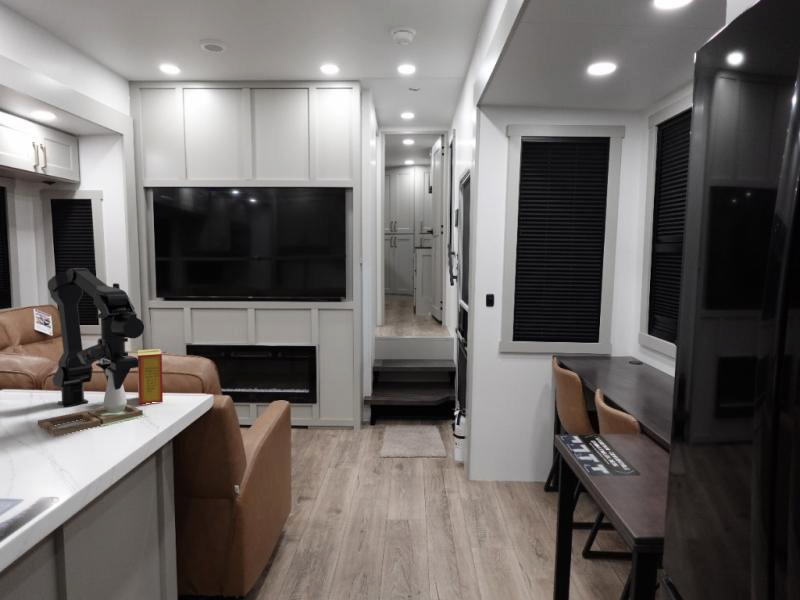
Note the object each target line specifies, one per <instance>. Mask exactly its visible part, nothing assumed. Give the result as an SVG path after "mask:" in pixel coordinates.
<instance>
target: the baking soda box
mask: <svg viewBox="0 0 800 600" xmlns="http://www.w3.org/2000/svg"><path fill="white" fill-rule="evenodd" d="M136 351H137V359H139V365H140V367H137V383H138V384H137V388H138V391H137V392H138V405H139V406H143V405H142V404H146V403H152V402H163V403H164V401H163V400H164V399H163V398H164V397H163V396H164V395H163V393H164V392H163V357H162V356H163V355H162V351H161V349H160V348H151V349H150V348H149V349H139V350H136Z"/></svg>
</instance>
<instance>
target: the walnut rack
mask: <svg viewBox="0 0 800 600" xmlns="http://www.w3.org/2000/svg"><path fill="white" fill-rule="evenodd" d="M124 410H126V411H129V413H125V414H120V415H116V416H111V417H107V418H106V417H104V416H102V414H106V413H107V411H106V409H105V408H104V406H100V407H97V408H91V409H86V410H81V411H78V412H71V413H68V414H63V415H59V416H54V417H48V418H44V419H43V418H42V419H38V420H37V426H39V427H40V428H42V429H43V428H44V429H43V430H45V431H46V430H47V431H46V432H48V433H49V432H50V433H49V434H51V435H52V434H53V435H52V436H54V437H55V438H57V437H61V436H64V434H65V435H69V434H68V433H70V434H73V433H72V432H74V433H76V431H78V432H81V431H80V430H82V431H85V430H84V429H86V430H89V429H88V428H91V429H94V428H93V427H95V428H98V427H97V426H99V427H100V425H101V424H107V423H111V422H116V421H120V420H124V419H128V418H133V417H137V416H141V415H143V413H144V412H143V410H142V409H140V408H138V407H135V406H133V405H131V404H128V403H127V404H126V406H125V409H124ZM80 419H83V420H82V421H84V420H85V421H84V422H82V423H78V424H71V425H67V426H64V427H63V426H62V427H60V428H59V427H57V426H59V425H58V424H61V425H64V424H63V423H66V424H68V423H67V422H70V423H73V422H72V421H75V422H77V421H76V420H79V421H81V420H80ZM86 421H87V422H86ZM55 425H57V426H55ZM60 435H61V436H60ZM56 436H57V437H56Z"/></svg>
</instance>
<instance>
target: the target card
mask: <svg viewBox="0 0 800 600" xmlns="http://www.w3.org/2000/svg"><path fill="white" fill-rule="evenodd" d="M125 413H129V411H126V410H123V411H122V412H119V413H106V414H102V416H104V417H106V418H107V417H111V416H116V415H120V414H125ZM145 415H147V414H145V413H144V412H143V415H141V416H137V417H133V418H128V419H124V420H120V421H116V422H111V423H107V424H101V425H100V426H103V427H105V426H104V425H107V426H110V425H109V424H111V425H114V424H113V423H116V424H119V423H118V422H120V423H123V422H122V421H124V422H127V421H126V420H128V421H131V419H132V420H135V419H134V418H137V419H139V418H138V417H141V418H143V417H142V416H145ZM145 417H146V416H145ZM100 426H99V427H100Z"/></svg>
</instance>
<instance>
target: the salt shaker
mask: <svg viewBox="0 0 800 600" xmlns="http://www.w3.org/2000/svg"><path fill="white" fill-rule="evenodd" d="M110 367H111V366H110ZM108 368H109V367H108ZM105 372H106V375H107V376H109V377H108V382H107V383H106V388H105V392H104V398H103V403H102V404H103V406H102V407H104V408H105V409H106V411H107V413H119V412H122V411H123V410H124V409H125V406H126V404H128V402H127V396H126V392H125V388H124V383H123V384H122V386H121V388H120V389H117V390H115V387H114V383H113V377H112V373H111V372H110V371H109V370H107V369H106V371H105Z"/></svg>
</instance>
